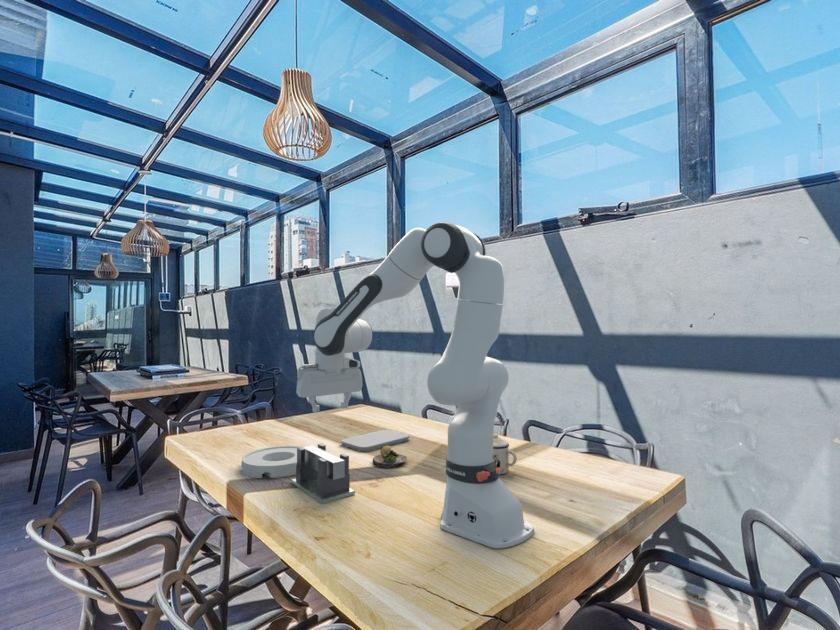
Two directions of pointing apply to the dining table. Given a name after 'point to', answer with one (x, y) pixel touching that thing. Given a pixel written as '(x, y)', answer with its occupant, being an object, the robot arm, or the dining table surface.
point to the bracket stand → (321, 479)
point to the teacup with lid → (502, 454)
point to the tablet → (375, 440)
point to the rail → (333, 463)
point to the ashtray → (271, 462)
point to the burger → (388, 458)
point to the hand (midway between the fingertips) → (330, 409)
